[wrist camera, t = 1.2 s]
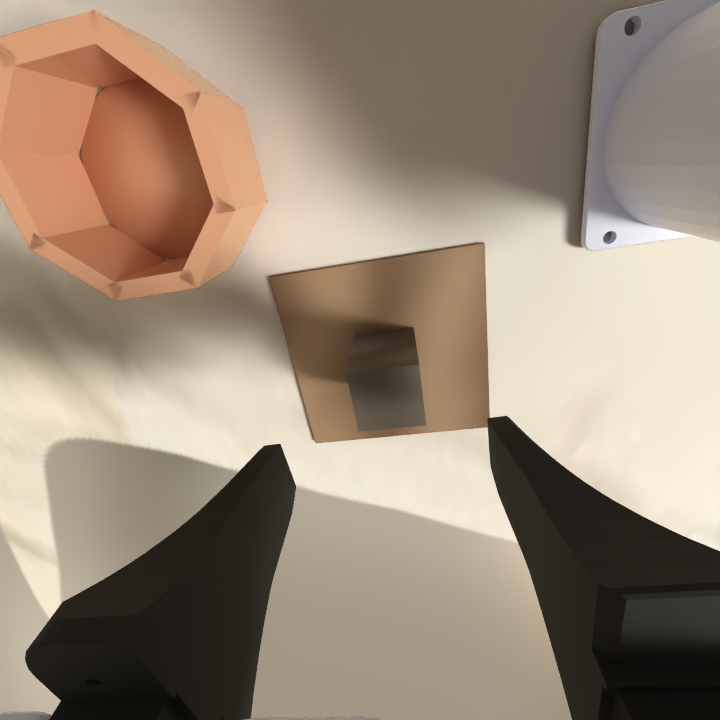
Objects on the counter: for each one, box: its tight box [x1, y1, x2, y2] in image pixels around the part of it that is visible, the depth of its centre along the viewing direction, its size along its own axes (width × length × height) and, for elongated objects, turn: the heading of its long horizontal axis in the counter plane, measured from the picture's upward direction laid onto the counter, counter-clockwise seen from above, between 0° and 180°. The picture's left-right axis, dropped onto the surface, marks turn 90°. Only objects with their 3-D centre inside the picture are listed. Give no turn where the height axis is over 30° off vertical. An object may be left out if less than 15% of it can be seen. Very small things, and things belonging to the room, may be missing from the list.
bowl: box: [0, 10, 268, 301], centre depth 15 cm, size 8×8×4 cm
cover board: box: [269, 243, 489, 443], centre depth 18 cm, size 10×10×5 cm
